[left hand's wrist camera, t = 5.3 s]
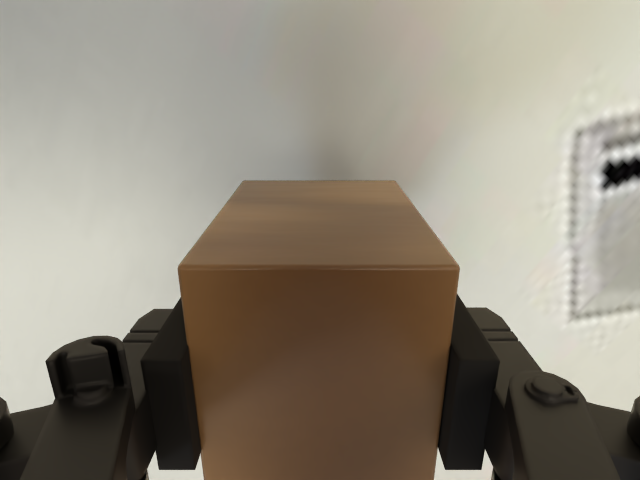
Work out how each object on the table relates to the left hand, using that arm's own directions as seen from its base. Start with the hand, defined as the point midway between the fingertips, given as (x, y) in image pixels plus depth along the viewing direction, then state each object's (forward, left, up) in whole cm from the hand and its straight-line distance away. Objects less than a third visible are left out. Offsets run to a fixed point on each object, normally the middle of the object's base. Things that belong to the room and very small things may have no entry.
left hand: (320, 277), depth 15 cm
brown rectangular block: (0, 0, -1) cm, 1 cm away
